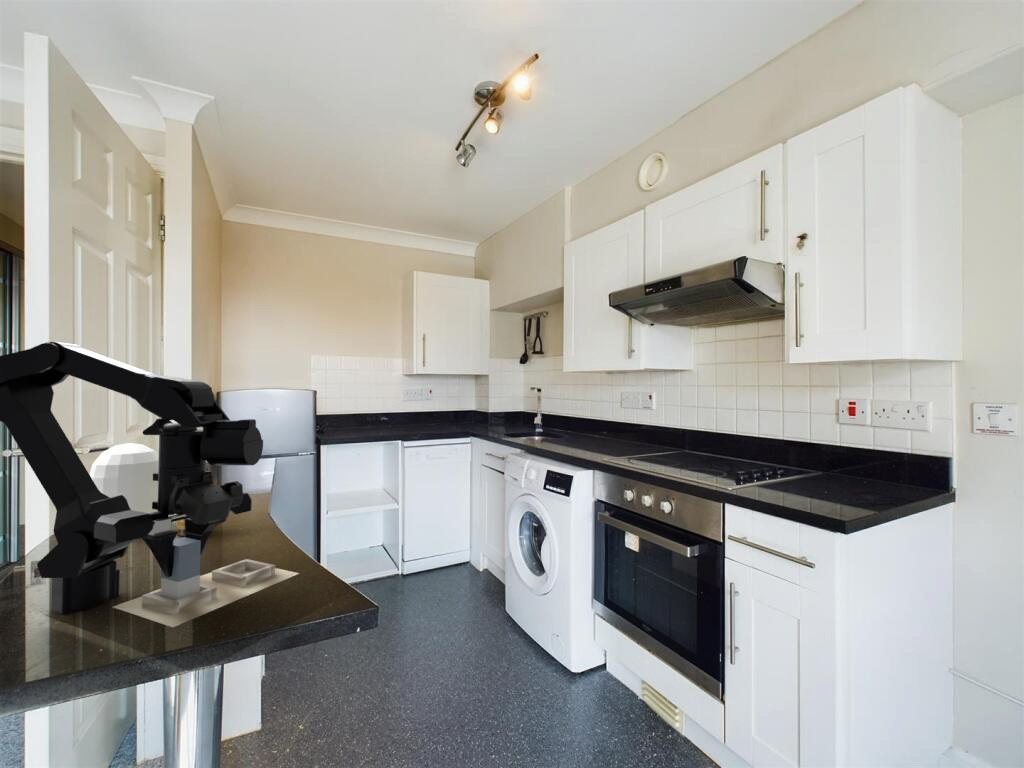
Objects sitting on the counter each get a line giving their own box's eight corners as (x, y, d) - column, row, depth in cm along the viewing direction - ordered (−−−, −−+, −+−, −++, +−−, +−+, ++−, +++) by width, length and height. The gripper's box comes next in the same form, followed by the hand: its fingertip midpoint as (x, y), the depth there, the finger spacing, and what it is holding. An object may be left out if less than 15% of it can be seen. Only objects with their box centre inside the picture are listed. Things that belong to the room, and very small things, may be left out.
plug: (177, 603, 66) (179, 546, 66) (160, 598, 67) (162, 542, 67) (199, 595, 68) (200, 540, 68) (182, 590, 70) (183, 537, 70)
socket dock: (172, 634, 60) (173, 615, 60) (112, 613, 66) (112, 596, 66) (299, 579, 79) (299, 564, 79) (243, 566, 84) (243, 552, 84)
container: (100, 526, 109) (102, 441, 110) (169, 520, 115) (171, 439, 116) (75, 543, 97) (78, 447, 98) (154, 535, 103) (156, 444, 103)
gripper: (143, 480, 56) (140, 610, 56) (276, 460, 73) (275, 560, 73) (93, 473, 61) (90, 593, 61) (229, 456, 78) (228, 550, 78)
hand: (180, 572), depth 68 cm, fingers closed on plug, 3 cm apart
